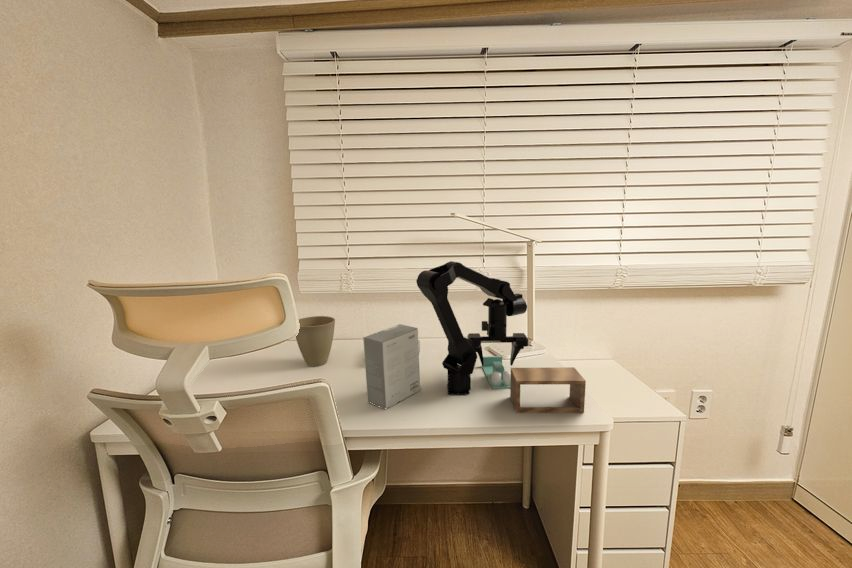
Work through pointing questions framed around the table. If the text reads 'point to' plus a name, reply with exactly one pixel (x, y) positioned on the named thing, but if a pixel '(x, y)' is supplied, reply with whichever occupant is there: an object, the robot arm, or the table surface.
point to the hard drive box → (392, 365)
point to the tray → (490, 369)
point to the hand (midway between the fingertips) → (496, 365)
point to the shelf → (548, 377)
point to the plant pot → (315, 339)
